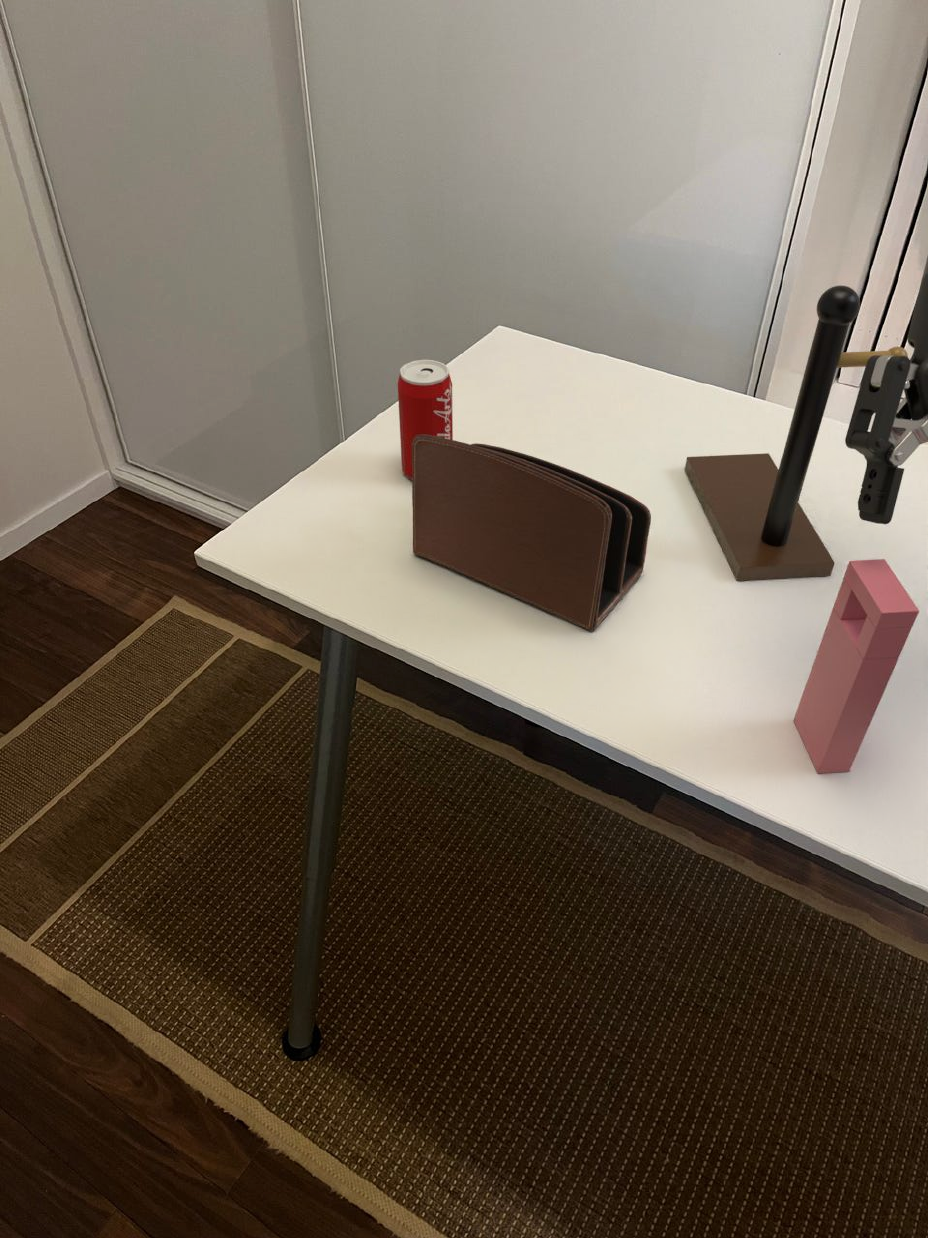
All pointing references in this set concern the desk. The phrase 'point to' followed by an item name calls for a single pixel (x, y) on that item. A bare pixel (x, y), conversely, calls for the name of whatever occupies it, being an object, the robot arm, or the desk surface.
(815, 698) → the pink block with hole
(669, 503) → the desk surface
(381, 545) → the desk surface
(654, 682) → the desk surface
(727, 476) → the stand
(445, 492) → the letter holder
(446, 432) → the soda can
